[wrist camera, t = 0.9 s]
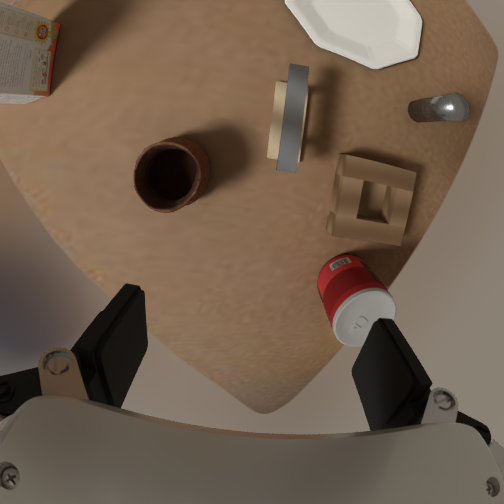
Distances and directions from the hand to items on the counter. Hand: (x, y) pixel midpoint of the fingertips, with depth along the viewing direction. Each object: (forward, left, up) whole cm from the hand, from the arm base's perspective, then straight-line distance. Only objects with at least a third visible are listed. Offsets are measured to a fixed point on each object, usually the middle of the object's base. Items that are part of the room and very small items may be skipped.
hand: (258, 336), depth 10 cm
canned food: (+9, +14, -27) cm, 31 cm away
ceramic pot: (-3, -10, -27) cm, 29 cm away
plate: (-31, +11, -27) cm, 42 cm away
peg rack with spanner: (-11, +3, -26) cm, 29 cm away
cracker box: (-22, -37, -27) cm, 51 cm away
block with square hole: (-3, +15, -26) cm, 30 cm away
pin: (-17, +21, -26) cm, 37 cm away
